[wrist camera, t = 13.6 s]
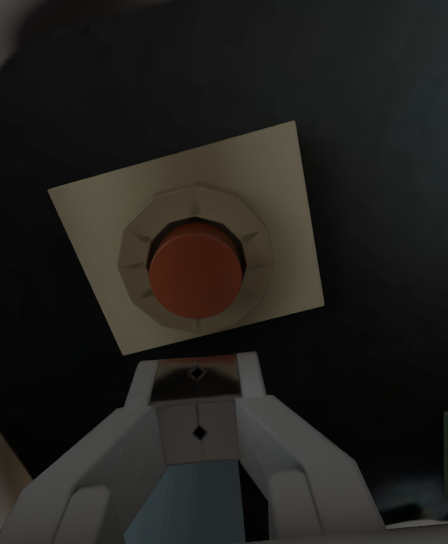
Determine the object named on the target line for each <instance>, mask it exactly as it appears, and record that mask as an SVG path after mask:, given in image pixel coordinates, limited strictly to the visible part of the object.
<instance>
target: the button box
mask: <svg viewBox="0 0 448 544" xmlns="http://www.w3.org/2000/svg"><path fill="white" fill-rule="evenodd" d="M48 192H49V195H50V197H51V199H52V201H53V203H54V206H55V208H56V210H57V212H58V214H59V217H60V219H61V221H62V223H63V225H64V228H65V230H66V232H67V234H68V236H69V238H70V241H71V243H72V245H73V247H74V249H75V252H76V254H77V256H78V258H79V260H80V263H81V265H82V267H83V269H84V271H85V273H86V276H87V278H88V280H89V282H90V284H91V287H92V289H93V291H94V293H95V295H96V298H97V300H98V302H99V304H100V306H101V309H102V311H103V313H104V315H105V317H106V319H107V322H108V324H109V326H110V328H111V330H112V333H113V335H114V337H115V339H116V341H117V344H118V346H119V348H120V350H121V352H122V354H123V355H127V354H131V353H135V352H139V351H143V350H147V349H152V348H156V347H160V346H164V345H168V344H172V343H176V342H180V341H184V340H188V339H192V338H196V337H200V336H204V335H208V334H212V333H216V332H220V331H224V330H228V329H232V328H236V327H240V326H244V325H248V324H252V323H256V322H260V321H264V320H268V319H272V318H276V317H280V316H284V315H289V314H293V313H297V312H301V311H305V310H309V309H313V308H317V307H321V306H324V305H325V304H324V298H323V292H322V286H321V279H320V273H319V267H318V261H317V254H316V248H315V242H314V236H313V229H312V223H311V217H310V211H309V204H308V198H307V192H306V186H305V179H304V173H303V167H302V161H301V154H300V148H299V142H298V136H297V129H296V123H295V121H290V122H286V123H282V124H279V125H275V126H271V127H268V128H264V129H261V130H257V131H254V132H250V133H246V134H243V135H239V136H236V137H232V138H229V139H225V140H221V141H218V142H214V143H211V144H207V145H204V146H200V147H196V148H193V149H189V150H186V151H182V152H179V153H175V154H171V155H168V156H164V157H161V158H157V159H154V160H150V161H147V162H143V163H139V164H136V165H132V166H129V167H125V168H122V169H118V170H114V171H111V172H107V173H104V174H100V175H97V176H93V177H89V178H86V179H82V180H79V181H75V182H72V183H68V184H65V185H61V186H58V187H55V188H51V189H48ZM189 223H204V224H208V225H212V226H214V227H216V228H218V229H220V230H221V231H223V232H224V233H225V234H226V235H227V236H228V237H229V238H230V239H231V241H232V242H233V244H234V246H235V248H236V250H237V253H238V257H239V261H240V265H241V270H242V284H241V288H240V290H239V293H238V295H237V297H236V298H235V300H234V301H233V302H232V304H231V305H230V306H229V307H227V308H226V309H225V310H224V311H222V312H220V313H219V314H216V315H214V316H211V317H208V318H202V319H190V318H185V317H181V316H178V315H176V314H174V313H172V312H170V311H169V310H167V309H166V308H165V307H163V306H162V305H161V304H160V302H159V301H158V300H157V299H156V297H155V296H154V294H153V292H152V289H151V286H150V281H149V269H150V265H151V261H152V259H153V257H154V255H155V253H156V251H157V248H158V246H159V244H160V243H161V241H162V239H163V238H164V237H165V236H166V235H167V234H168V233H169V232H170V231H172V230H173V229H175V228H177V227H179V226H181V225H184V224H189Z"/></svg>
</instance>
